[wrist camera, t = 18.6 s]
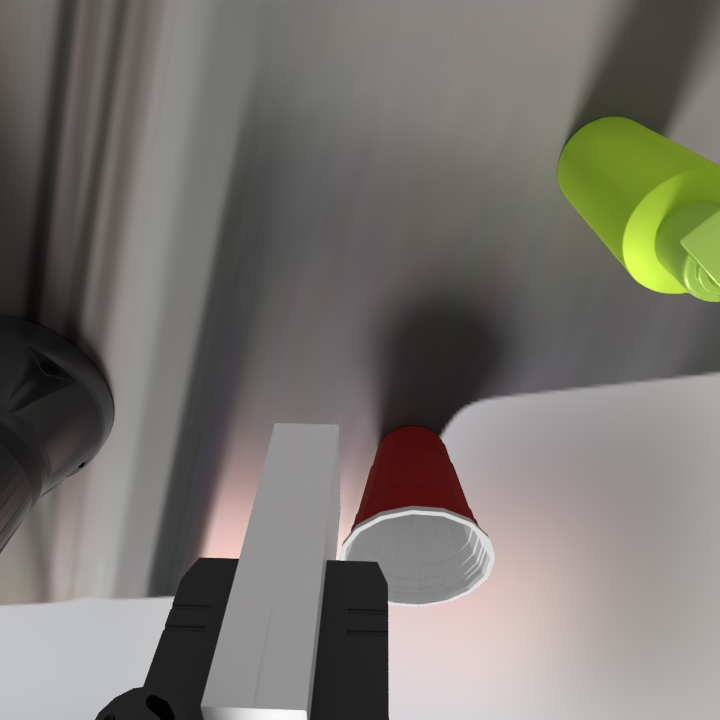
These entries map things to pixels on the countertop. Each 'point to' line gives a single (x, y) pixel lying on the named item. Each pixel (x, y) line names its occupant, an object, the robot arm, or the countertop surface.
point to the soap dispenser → (647, 204)
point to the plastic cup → (418, 523)
